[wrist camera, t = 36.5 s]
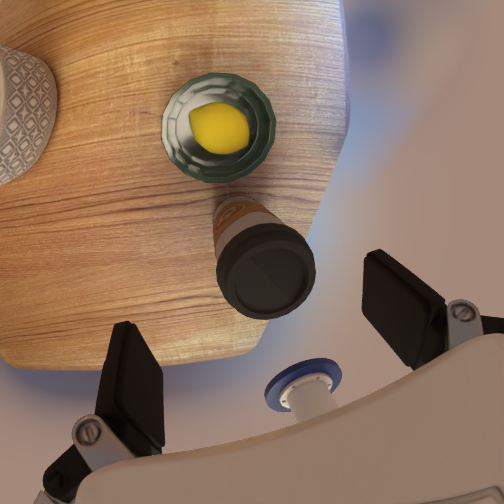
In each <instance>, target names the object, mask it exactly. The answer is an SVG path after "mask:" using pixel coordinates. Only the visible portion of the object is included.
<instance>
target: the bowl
mask: <svg viewBox="0 0 504 504" xmlns="http://www.w3.org/2000/svg"><path fill="white" fill-rule="evenodd" d="M211 102H224V103H227V104H229V105H232V106H233V107H235V108H237V109H238V110H240V111H241V112H242V113H243V114H244V115H245V116H246V119H247V122H248V126H249V142H248V145H247V146H246V147H244V148H243V149H241V150H239V151H237V152H234V153H231V154H216V153H210V152H209V151H207V150H206V149H205V148H203V147H202V146H201V145H200V144H199V143H198V142H197V141H196V140H195V137H194V135H193V132H192V128H191V125H190V118H189V113H190V111H191V110H193V109H195V108H198V107H200V106H203V105H205V104H208V103H211ZM275 127H276V118H275V115H274V112H273V109H272V106H271V103H270V100H269V99H268V98H267V97H266V95H265V94H264V93H263V92H262V91H261V90H260V89H259V88H258V86H257V85H256V84H255V83H253V82H251V81H249V80H247V79H244V78H242V77H240V76H238V75H236V74H228V73H209V74H206V75H203V76H200V77H197V78H195V79H192V80H190V81H188V82H187V83H186V84H185V85H183V86H182V87H181V88H180V89H179V90H178V91H177V92H176V93H174V94H173V95H172V96H171V98H170V100H169V103H168V105H167V107H166V109H165V111H164V113H163V115H162V127H161V140H162V142H163V145H164V147H165V150H166V152H167V154H168V157H169V159H170V160H171V161H172V162H173V163H174V164H175V165H176V166H177V167H178V168H179V169H180V170H181V171H182V172H183V173H184V174H186V175H187V176H190V177H193V178H195V179H198V180H200V181H203V182H206V183H228V182H231V181H233V180H236V179H239V178H241V177H244V176H246V175H248V174H250V173H251V172H252V171H253V170H254V169H255V168H257V167H258V166H259V165H260V164H261V163H262V162H263V161H264V160H265V159H266V157H267V155H268V153H269V151H270V149H271V147H272V145H273V143H274V140H275Z"/></svg>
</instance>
